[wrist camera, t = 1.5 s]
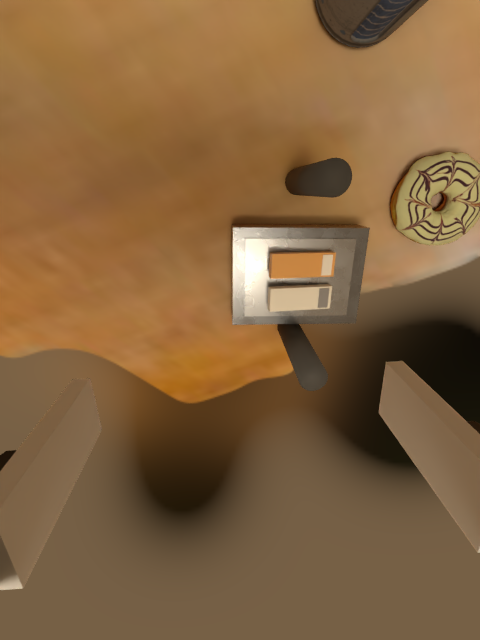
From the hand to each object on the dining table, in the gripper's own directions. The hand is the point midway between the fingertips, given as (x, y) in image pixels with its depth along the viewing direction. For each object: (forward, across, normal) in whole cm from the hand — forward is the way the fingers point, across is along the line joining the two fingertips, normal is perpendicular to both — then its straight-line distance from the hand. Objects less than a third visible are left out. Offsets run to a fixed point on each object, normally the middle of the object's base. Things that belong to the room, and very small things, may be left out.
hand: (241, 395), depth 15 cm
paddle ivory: (+25, +8, -4) cm, 27 cm away
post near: (+31, +9, +9) cm, 33 cm away
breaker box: (+31, +8, -2) cm, 32 cm away
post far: (+31, +8, -10) cm, 33 cm away
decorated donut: (+31, +26, +7) cm, 41 cm away
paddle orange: (+25, +8, 0) cm, 27 cm away
